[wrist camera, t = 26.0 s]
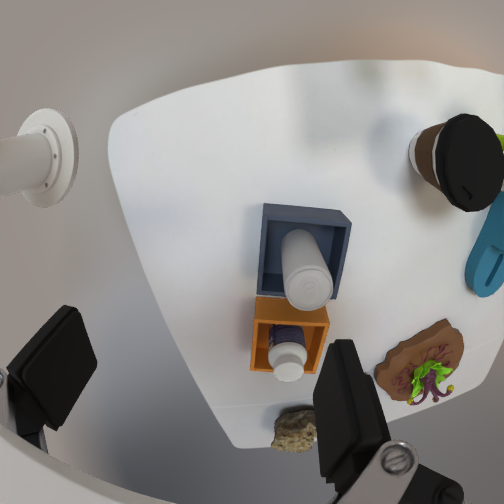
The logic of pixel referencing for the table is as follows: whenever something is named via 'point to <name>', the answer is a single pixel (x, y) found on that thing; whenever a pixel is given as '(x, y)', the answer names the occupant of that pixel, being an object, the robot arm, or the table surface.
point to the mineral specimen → (295, 431)
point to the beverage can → (304, 271)
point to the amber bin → (287, 314)
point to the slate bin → (307, 218)
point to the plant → (421, 364)
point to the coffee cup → (461, 161)
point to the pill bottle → (287, 351)
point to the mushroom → (501, 140)
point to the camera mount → (488, 253)
